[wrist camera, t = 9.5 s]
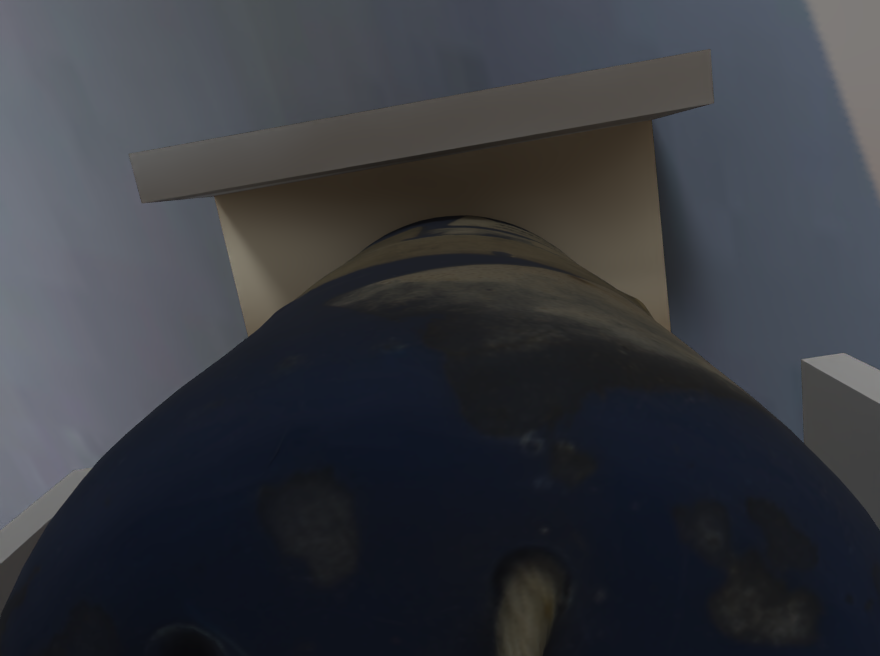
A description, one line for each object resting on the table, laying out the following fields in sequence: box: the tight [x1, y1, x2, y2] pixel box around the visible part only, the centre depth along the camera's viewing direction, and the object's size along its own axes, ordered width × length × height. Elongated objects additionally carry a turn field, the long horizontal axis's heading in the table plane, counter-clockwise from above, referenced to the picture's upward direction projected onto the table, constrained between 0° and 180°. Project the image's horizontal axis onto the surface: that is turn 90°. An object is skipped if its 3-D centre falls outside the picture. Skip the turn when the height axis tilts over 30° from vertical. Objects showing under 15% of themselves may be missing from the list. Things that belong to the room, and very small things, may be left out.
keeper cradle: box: [129, 49, 714, 337], centre depth 20 cm, size 15×14×6 cm
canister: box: [0, 215, 880, 656], centre depth 13 cm, size 10×10×18 cm
